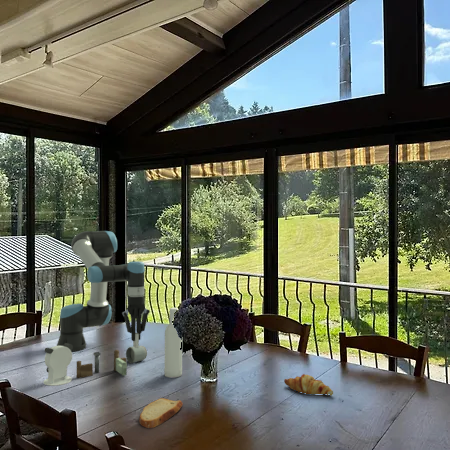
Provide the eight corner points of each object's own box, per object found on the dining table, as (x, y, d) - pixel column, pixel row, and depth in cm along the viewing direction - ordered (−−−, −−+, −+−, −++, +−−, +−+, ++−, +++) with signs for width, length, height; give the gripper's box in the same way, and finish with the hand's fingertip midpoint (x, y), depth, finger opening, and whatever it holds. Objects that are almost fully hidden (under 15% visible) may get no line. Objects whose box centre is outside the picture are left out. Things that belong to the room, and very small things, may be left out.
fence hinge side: (112, 370, 206) (113, 349, 206) (124, 367, 209) (124, 347, 209) (114, 371, 204) (114, 350, 204) (126, 369, 207) (126, 348, 207)
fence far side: (75, 377, 196) (76, 361, 196) (91, 374, 200) (91, 358, 200) (77, 378, 194) (77, 362, 194) (92, 375, 198) (92, 359, 198)
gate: (115, 370, 203) (115, 358, 203) (119, 369, 205) (119, 357, 204) (122, 375, 197) (122, 363, 197) (126, 374, 198) (126, 362, 198)
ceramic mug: (148, 361, 220) (148, 345, 220) (134, 364, 214) (134, 348, 214) (135, 357, 227) (135, 341, 227) (121, 360, 221) (121, 344, 221)
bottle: (166, 371, 204) (166, 306, 204) (183, 372, 204) (183, 306, 204) (163, 377, 196) (163, 309, 196) (180, 378, 196) (181, 310, 196)
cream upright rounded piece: (62, 374, 199) (63, 341, 199) (78, 379, 193) (78, 345, 193) (38, 382, 190) (38, 346, 190) (53, 387, 183) (54, 351, 183)
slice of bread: (143, 430, 147) (143, 419, 147) (131, 409, 163) (131, 399, 163) (194, 421, 154) (194, 410, 154) (177, 402, 170) (177, 392, 170)
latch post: (93, 372, 202) (93, 352, 202) (98, 371, 204) (98, 351, 204) (95, 373, 200) (95, 353, 200) (100, 372, 202) (100, 353, 202)
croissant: (335, 403, 178) (338, 383, 181) (328, 399, 170) (332, 377, 173) (286, 391, 189) (290, 372, 192) (277, 386, 181) (282, 367, 184)
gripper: (125, 298, 195) (125, 351, 195) (152, 295, 203) (152, 347, 202) (119, 295, 201) (119, 347, 201) (145, 293, 209) (145, 343, 209)
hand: (135, 347), depth 202 cm, fingers closed
